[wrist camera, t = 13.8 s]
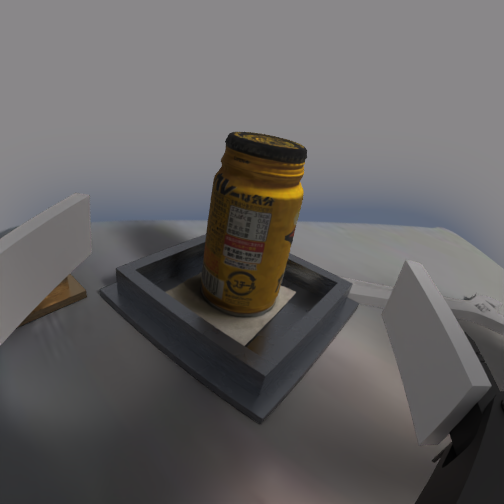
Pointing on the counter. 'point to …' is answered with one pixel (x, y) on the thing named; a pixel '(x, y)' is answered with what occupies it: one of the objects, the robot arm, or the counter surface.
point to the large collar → (223, 346)
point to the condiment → (248, 235)
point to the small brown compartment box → (58, 298)
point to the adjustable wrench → (472, 310)
